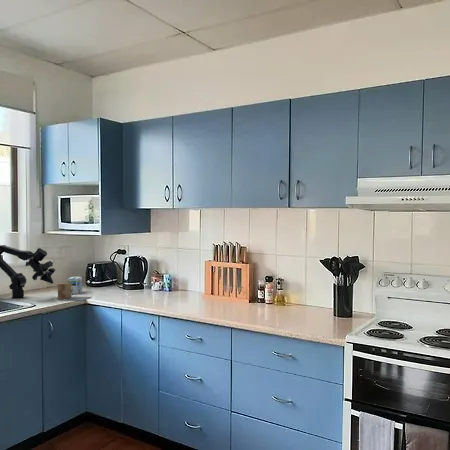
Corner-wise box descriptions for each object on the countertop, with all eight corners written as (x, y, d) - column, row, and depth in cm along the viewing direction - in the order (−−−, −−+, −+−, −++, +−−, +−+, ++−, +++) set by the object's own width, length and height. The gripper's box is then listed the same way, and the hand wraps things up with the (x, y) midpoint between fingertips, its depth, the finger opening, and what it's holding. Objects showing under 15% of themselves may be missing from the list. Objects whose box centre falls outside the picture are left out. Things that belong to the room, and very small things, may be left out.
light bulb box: (77, 294, 309) (77, 278, 309) (67, 294, 309) (67, 278, 309) (82, 291, 320) (82, 276, 319) (73, 291, 320) (72, 276, 320)
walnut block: (57, 299, 291) (57, 284, 291) (63, 297, 297) (62, 282, 297) (66, 299, 290) (66, 284, 290) (71, 298, 296) (71, 282, 296)
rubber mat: (64, 300, 287) (64, 300, 287) (74, 297, 299) (74, 296, 299) (82, 301, 285) (82, 300, 285) (91, 297, 296) (91, 296, 296)
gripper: (35, 258, 286) (52, 276, 284) (52, 255, 304) (68, 272, 303) (25, 271, 288) (41, 288, 286) (42, 267, 306) (57, 284, 304)
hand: (52, 283), depth 295 cm, fingers closed
